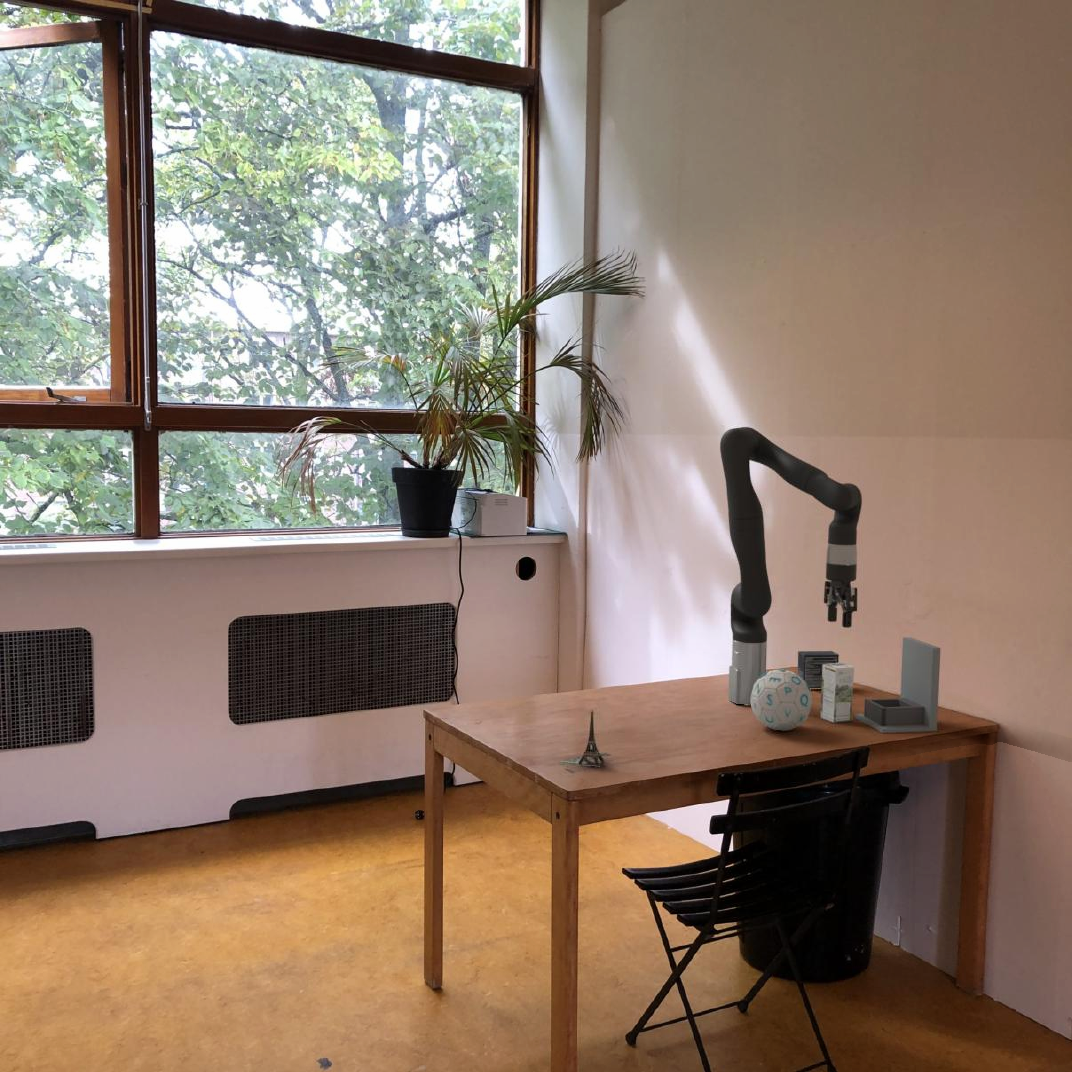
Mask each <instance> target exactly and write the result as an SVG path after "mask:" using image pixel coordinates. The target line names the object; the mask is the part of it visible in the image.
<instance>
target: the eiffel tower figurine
mask: <svg viewBox="0 0 1072 1072" xmlns="http://www.w3.org/2000/svg"><path fill="white" fill-rule="evenodd" d="M594 714H595V713H594V711H593V710H591V711H590V724H589V733H588V740H587V745H586V748H585V750H583V755H582V756H581V755H580V756H573V757H574V758H573V757H568V759H566V758H565V759H566V760H564V761H561V762H560V761H558V763H559V765H561V766H564V765H571V766H575V765H596V766H595V767H600V765H602V766H603V765H604V764H605V763H606V760H605V759H604V758H603V757H609V756H612V754H610V753H609V752H603V753H600V749H598V747H597V743H596V739H595V729H594V728H595V727H594ZM587 757H589V758H588V759H587ZM590 758H591V759H590ZM598 760H600V761H598ZM595 767H594V768H595ZM600 768H601V767H600ZM565 770H567V769H565ZM567 771H568V772H570V773H575V771H574V770H573V769H571V770H569V769H568V770H567Z"/></svg>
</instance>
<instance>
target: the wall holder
mask: <svg viewBox="0 0 1072 1072" xmlns="http://www.w3.org/2000/svg"><path fill="white" fill-rule="evenodd" d="M901 651H902V652H901V672H900V674H901V675H900V696H899V698H893V697H892V698H868V699H867V698H865V699H864V709H863V710H864V711H863V712H864V713H854V718H855V719H857V720H858V721H860V722H861V723H864V724H865V725H868V726H869V727H871V728H872V729H875V730H877V731H878V732H880V733H882V734H887V733H889V734H891V733H894V734H896V733H917V732H918V733H920V732H923V733H924V732H937V731H938V714H939V713H938V710H939V693H940V692H939V689H940V686H939V685H940V671H941V670H940V669H941V668H940V666H941V647H938V646H935V645H934V644H930V643H927V642H925V641H922V640H920V639H916V638H913V637H910V636H905V637H903V636H902V649H901Z"/></svg>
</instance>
